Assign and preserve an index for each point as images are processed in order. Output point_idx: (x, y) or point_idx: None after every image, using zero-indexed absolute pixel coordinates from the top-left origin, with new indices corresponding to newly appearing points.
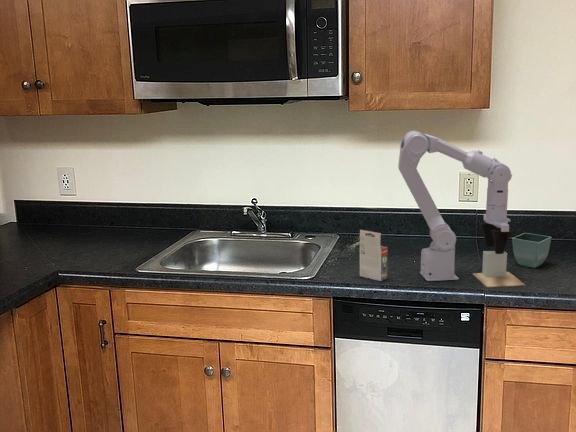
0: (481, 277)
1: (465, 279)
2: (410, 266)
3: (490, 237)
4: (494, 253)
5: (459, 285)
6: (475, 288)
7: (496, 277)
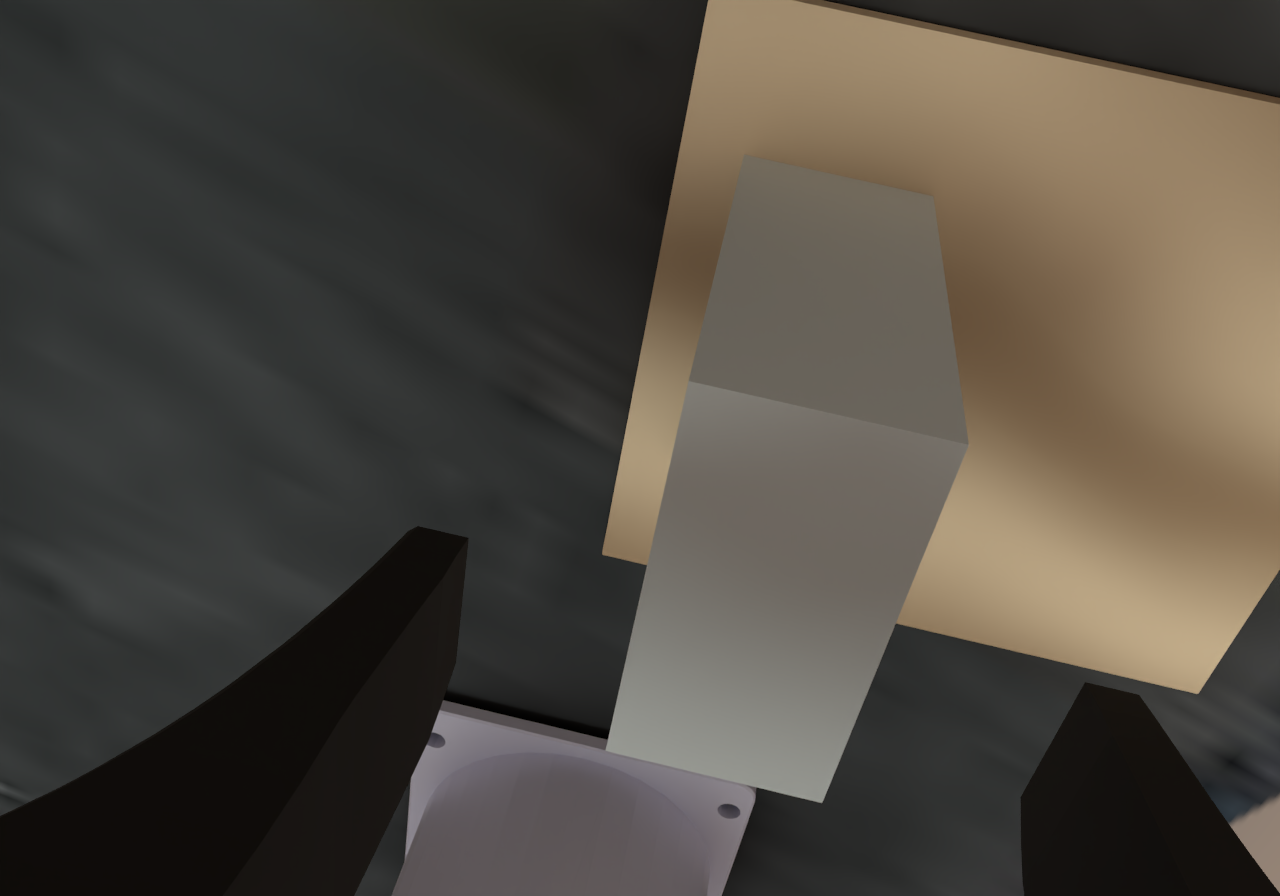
0: None
1: None
2: None
3: (362, 784)
4: (854, 681)
5: (931, 845)
6: None
7: None
